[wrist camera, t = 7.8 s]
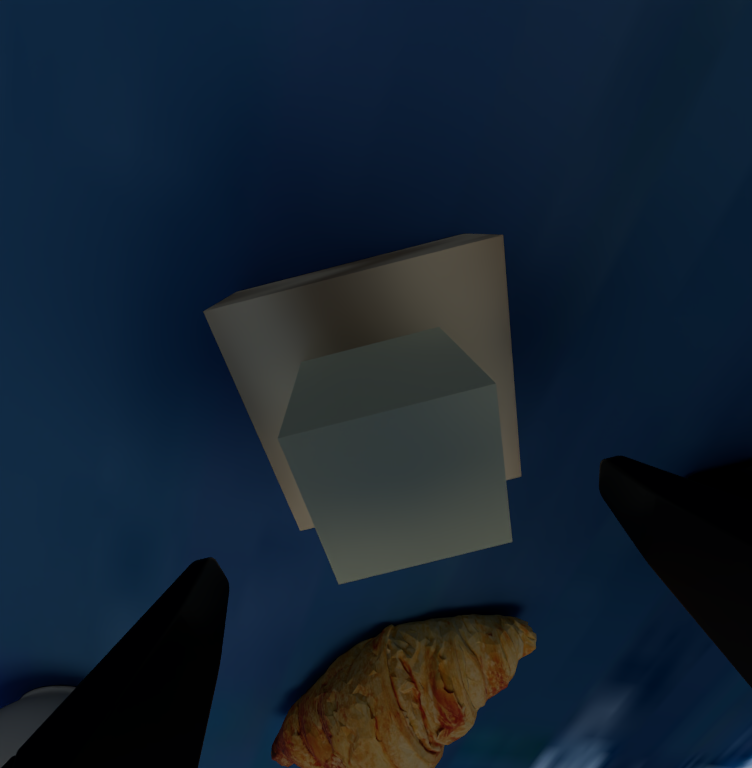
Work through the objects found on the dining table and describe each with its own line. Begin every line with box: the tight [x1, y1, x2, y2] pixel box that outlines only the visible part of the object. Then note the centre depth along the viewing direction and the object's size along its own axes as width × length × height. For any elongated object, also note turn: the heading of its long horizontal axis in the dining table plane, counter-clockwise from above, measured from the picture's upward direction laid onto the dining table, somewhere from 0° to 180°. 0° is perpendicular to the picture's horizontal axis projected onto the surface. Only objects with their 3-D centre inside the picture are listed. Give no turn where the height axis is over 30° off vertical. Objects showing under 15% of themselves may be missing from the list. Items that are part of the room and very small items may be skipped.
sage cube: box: [278, 327, 512, 584], centre depth 11 cm, size 5×5×5 cm
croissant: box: [271, 614, 536, 768], centre depth 25 cm, size 21×10×8 cm, turn 122°
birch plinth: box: [203, 234, 521, 531], centre depth 15 cm, size 10×10×4 cm
